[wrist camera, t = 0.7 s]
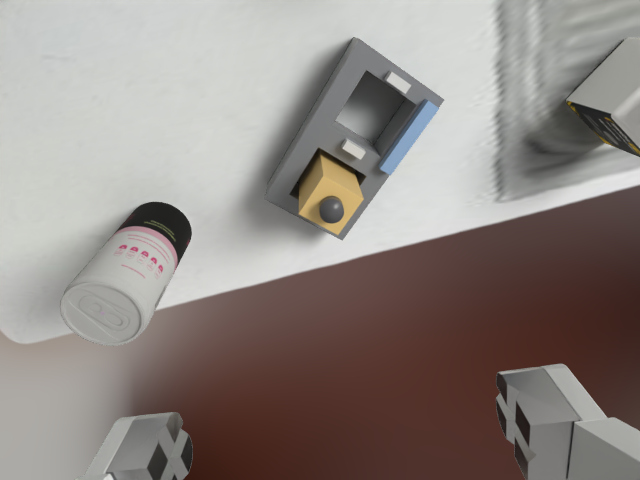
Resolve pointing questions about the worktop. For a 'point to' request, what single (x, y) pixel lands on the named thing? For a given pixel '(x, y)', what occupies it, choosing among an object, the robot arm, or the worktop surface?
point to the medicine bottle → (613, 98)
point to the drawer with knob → (328, 191)
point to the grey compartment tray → (346, 144)
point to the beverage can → (127, 276)
